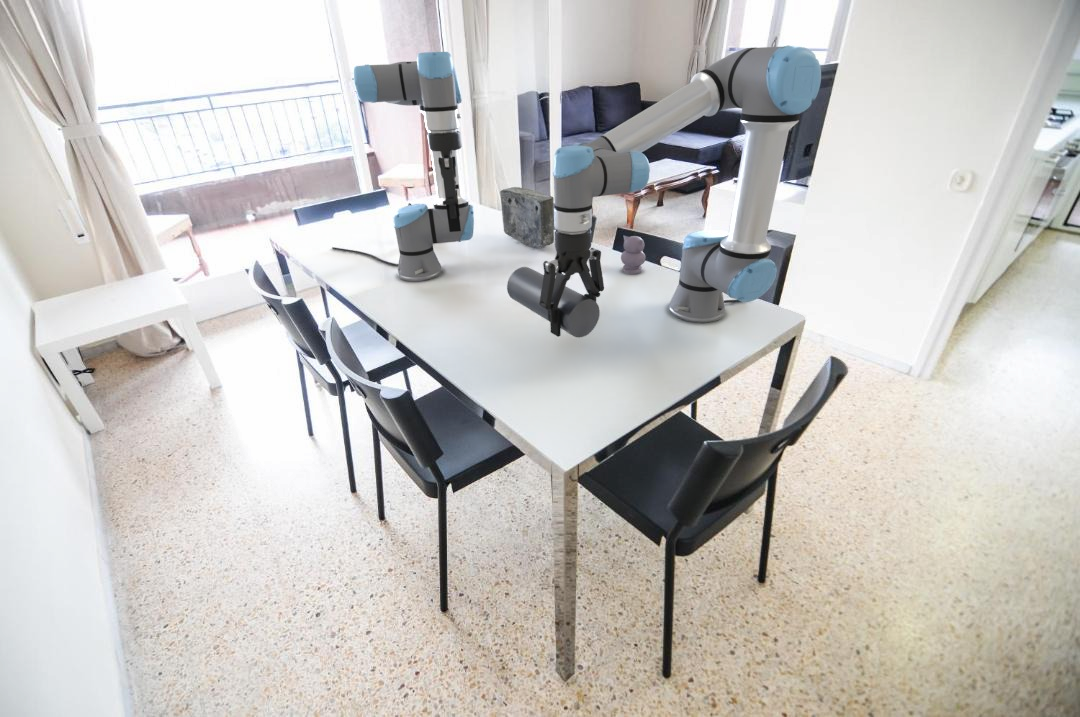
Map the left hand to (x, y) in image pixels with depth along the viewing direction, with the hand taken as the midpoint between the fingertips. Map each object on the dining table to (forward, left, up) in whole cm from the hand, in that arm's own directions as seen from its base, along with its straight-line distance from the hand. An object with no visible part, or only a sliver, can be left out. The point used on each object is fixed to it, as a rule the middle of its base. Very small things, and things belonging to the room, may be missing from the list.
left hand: (454, 223), depth 125 cm
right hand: (+35, -13, -18) cm, 41 cm away
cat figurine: (+35, +54, -30) cm, 71 cm away
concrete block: (-10, +71, -30) cm, 78 cm away
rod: (+28, -8, -18) cm, 35 cm away
